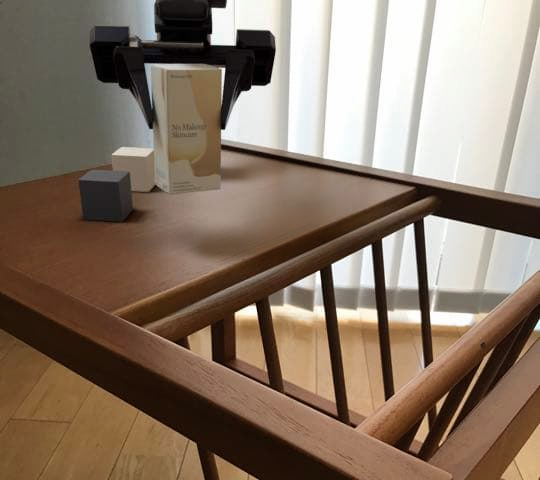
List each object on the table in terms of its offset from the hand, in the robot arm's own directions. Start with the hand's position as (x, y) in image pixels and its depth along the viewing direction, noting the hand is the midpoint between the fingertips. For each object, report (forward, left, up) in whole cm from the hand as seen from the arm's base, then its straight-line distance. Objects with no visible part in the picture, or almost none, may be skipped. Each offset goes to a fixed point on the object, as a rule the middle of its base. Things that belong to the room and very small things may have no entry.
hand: (187, 127), depth 64 cm
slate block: (-7, -15, -13) cm, 21 cm away
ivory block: (-20, -18, -13) cm, 30 cm away
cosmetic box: (-1, -1, -7) cm, 7 cm away
